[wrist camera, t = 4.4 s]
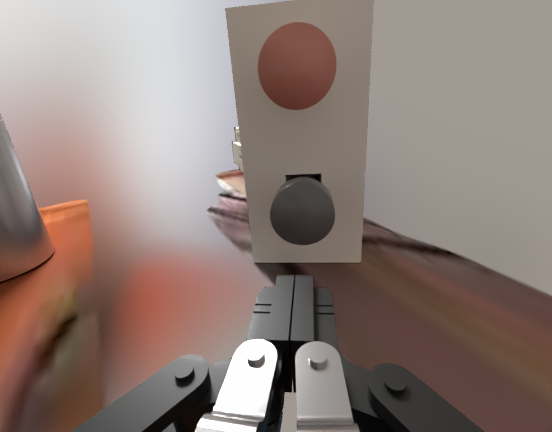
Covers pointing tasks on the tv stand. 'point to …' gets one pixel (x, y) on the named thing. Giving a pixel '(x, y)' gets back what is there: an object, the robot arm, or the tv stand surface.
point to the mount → (304, 126)
